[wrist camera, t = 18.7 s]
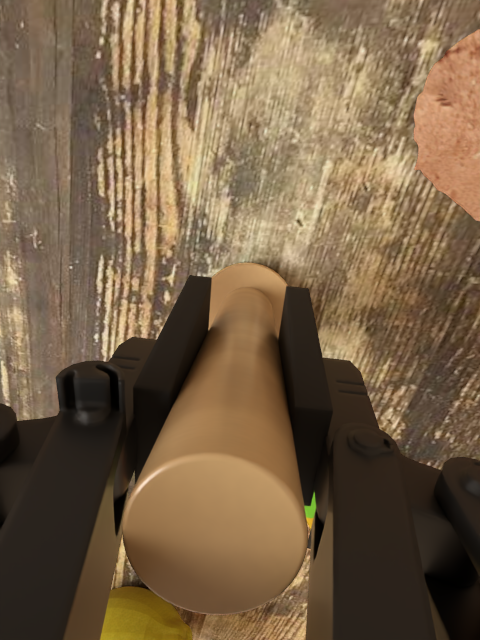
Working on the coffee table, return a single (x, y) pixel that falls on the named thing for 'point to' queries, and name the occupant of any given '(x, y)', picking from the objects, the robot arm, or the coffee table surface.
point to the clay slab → (452, 125)
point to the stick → (224, 465)
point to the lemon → (142, 617)
